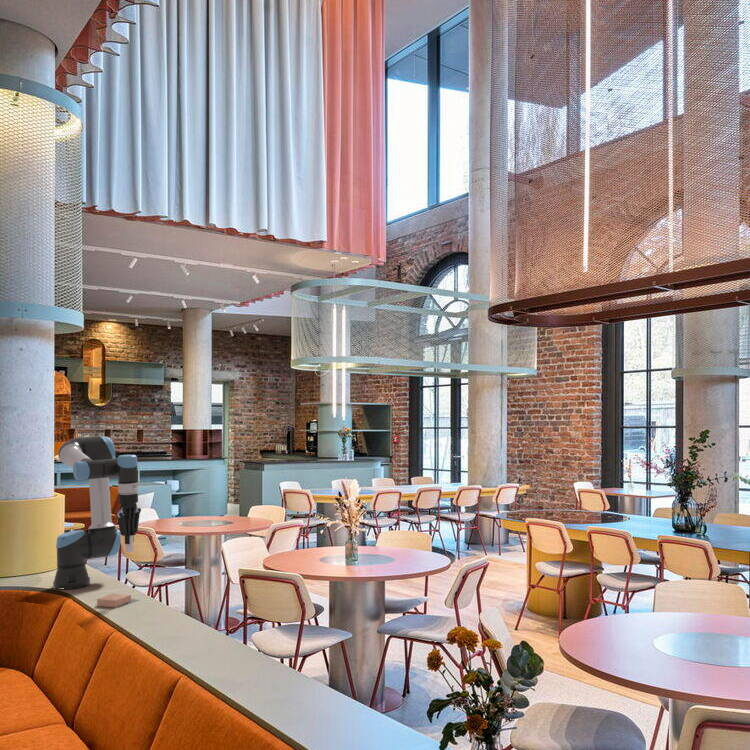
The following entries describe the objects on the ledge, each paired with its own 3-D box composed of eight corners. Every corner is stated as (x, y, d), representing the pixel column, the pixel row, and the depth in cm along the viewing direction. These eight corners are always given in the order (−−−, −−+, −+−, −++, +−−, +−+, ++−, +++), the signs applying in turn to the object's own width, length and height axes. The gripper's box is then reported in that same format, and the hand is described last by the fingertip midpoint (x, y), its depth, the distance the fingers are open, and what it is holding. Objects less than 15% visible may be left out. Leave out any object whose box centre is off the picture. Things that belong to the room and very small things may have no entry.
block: (112, 593, 316) (96, 599, 308) (131, 594, 313) (115, 600, 304) (113, 600, 316) (97, 606, 308) (131, 601, 313) (115, 607, 304)
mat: (115, 599, 320) (115, 597, 320) (140, 601, 315) (139, 599, 315) (94, 607, 309) (94, 605, 309) (119, 609, 304) (119, 607, 304)
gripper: (124, 496, 313) (126, 555, 313) (146, 491, 325) (147, 548, 325) (109, 495, 316) (110, 554, 316) (131, 490, 328) (132, 547, 328)
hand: (129, 551), depth 320 cm, fingers closed
